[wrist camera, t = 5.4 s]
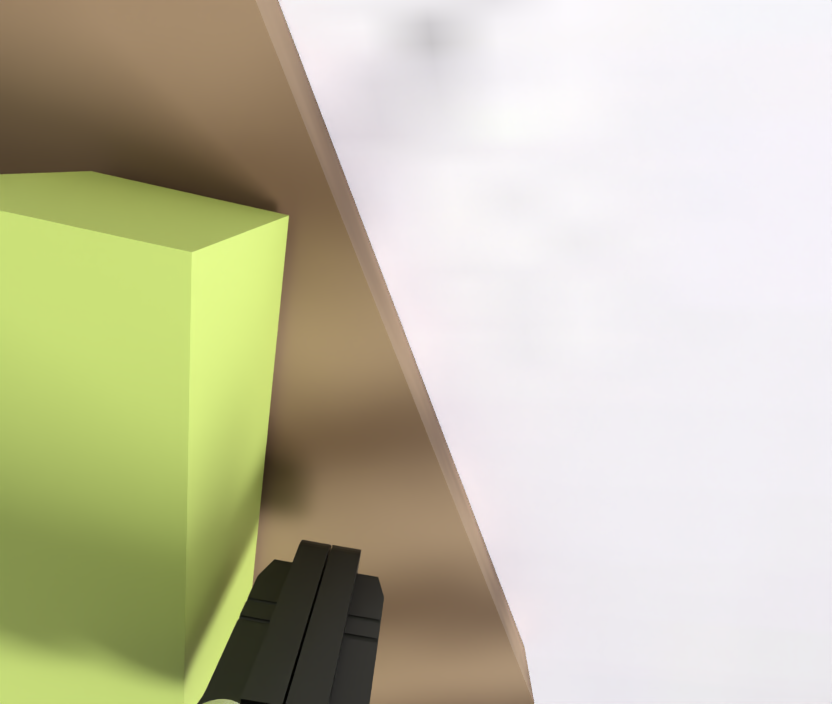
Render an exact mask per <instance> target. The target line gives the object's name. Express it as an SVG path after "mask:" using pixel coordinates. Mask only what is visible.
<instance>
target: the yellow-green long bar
mask: <svg viewBox="0 0 832 704" xmlns="http://www.w3.org/2000/svg"><path fill="white" fill-rule="evenodd" d="M288 221H289V215H285V214H281V213H276V212H272V211H267V210H263V209H258V208H254V207H250V206H245V205H241V204H236V203H232V202H227V201H223V200H218V199H214V198H209V197H205V196H200V195H196V194H191V193H187V192H182V191H178V190H174V189H169V188H165V187H160V186H156V185H151V184H147V183H142V182H138V181H133V180H129V179H124V178H120V177H115V176H111V175H107V174H102V173H98V172H93V171H79V172H51V173H22V174H0V704H197V703H198V702H199V700H200V699H201V697H202V696H203V694H204V692H205V690H206V688H207V686H208V684H209V682H210V680H211V677H212V675H213V673H214V671H215V669H216V666H217V664H218V662H219V660H220V658H221V655H222V653H223V651H224V649H225V646H226V644H227V642H228V640H229V638H230V635H231V633H232V631H233V629H234V627H235V624H236V622H237V620H238V619H239V616H240V613H241V611H242V609H243V607H244V604H245V602H247V599H248V596H249V593H250V591H251V589H252V584H253V574H254V564H255V554H256V544H257V534H258V524H259V514H260V503H261V493H262V483H263V473H264V463H265V453H266V443H267V433H268V423H269V413H270V402H271V392H272V382H273V372H274V362H275V352H276V342H277V332H278V322H279V312H280V302H281V291H282V281H283V271H284V261H285V251H286V241H287V231H288Z"/></svg>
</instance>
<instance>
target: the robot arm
mask: <svg viewBox="0 0 832 704" xmlns="http://www.w3.org/2000/svg"><path fill="white" fill-rule="evenodd" d="M360 556H361V550H360V549H355V548H349V547H343V546H337V545H332V548H331V544H325V543H319V542H313V541H308V540H301V542H300V544H299V546H298V549H297V552H296V554H295V557H294V559H293V562H288V561H282V560H276V559H274V560H273V561H272V562H271V563H270V564H269V565H268V566H267V567H266V568H265V569H264V570H263V571H262V572H261V573H260V574H259V575H258V576H257V578H256V580H255V582H254V585H253V587H252V589H251V591H250V593H249V596H248V599H247V602H245V604H244V607H243V609H242V611H241V613H240V616H239V619H238V620H237V622H236V624H235V627H234V629H233V631H232V633H231V635H230V638H229V640H228V642H227V644H226V646H225V649H224V651H223V653H222V655H221V658H220V660H219V662H218V664H217V666H216V669H215V671H214V673H213V675H212V677H211V680H210V682H209V684H208V686H207V688H206V690H205V692H204V694H203V696H202V697H201V699H200V700H199V702H198V703H197V704H370V697H371V690H372V683H373V675H374V668H375V661H376V654H377V646H378V639H379V632H380V624H381V617H382V610H383V603H384V595H383V592H382V588H381V585H380V581H379V578H378V577H375V576H370V575H364V574H358V569H359V562H360Z"/></svg>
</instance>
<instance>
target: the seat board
mask: <svg viewBox="0 0 832 704" xmlns="http://www.w3.org/2000/svg"><path fill="white" fill-rule="evenodd" d="M79 171H93V172H98V173H102V174H107V175H111V176H115V177H120V178H124V179H129V180H133V181H138V182H142V183H147V184H151V185H156V186H160V187H165V188H169V189H174V190H178V191H182V192H187V193H191V194H196V195H200V196H205V197H209V198H214V199H218V200H223V201H227V202H232V203H236V204H241V205H245V206H250V207H254V208H258V209H263V210H267V211H272V212H276V213H281V214H285V215H289V221H288V231H287V241H286V251H285V261H284V271H283V281H282V291H281V302H280V312H279V322H278V332H277V342H276V352H275V362H274V372H273V382H272V392H271V402H270V413H269V423H268V433H267V443H266V453H265V463H264V473H263V483H262V493H261V503H260V514H259V524H258V534H257V544H256V554H255V564H254V574H253V584H252V587H253V585H254V582H255V580H256V578H257V576H258V575H259V574H260V573H261V572H262V571H263V570H264V569H265V568H266V567H267V566H268V565H269V564H270V563H271V562H272V561H273V560H274V559H276V560H282V561H288V562H293V559H294V557H295V554H296V552H297V549H298V546H299V544H300V542H301V540H308V541H313V542H319V543H325V544H331V548H332V545H337V546H343V547H349V548H355V549H360V550H361V556H360V562H359V569H358V574H364V575H370V576H375V577H378V578H379V581H380V585H381V588H382V592H383V595H384V603H383V610H382V617H381V624H380V632H379V639H378V646H377V654H376V661H375V668H374V675H373V683H372V690H371V697H370V704H534V699H533V694H532V688H531V682H530V677H529V671H528V665H527V660H526V654H525V648H524V645H523V642H522V640H521V637H520V635H519V632H518V629H517V627H516V624H515V621H514V619H513V616H512V614H511V611H510V608H509V606H508V603H507V600H506V598H505V595H504V593H503V590H502V587H501V585H500V582H499V579H498V577H497V574H496V572H495V569H494V566H493V564H492V561H491V558H490V556H489V553H488V551H487V548H486V545H485V543H484V540H483V537H482V535H481V532H480V530H479V527H478V524H477V522H476V519H475V516H474V514H473V511H472V509H471V506H470V503H469V501H468V498H467V495H466V493H465V490H464V488H463V485H462V482H461V480H460V477H459V474H458V472H457V469H456V467H455V464H454V461H453V459H452V456H451V453H450V451H449V448H448V446H447V443H446V440H445V438H444V435H443V432H442V430H441V427H440V425H439V422H438V419H437V417H436V414H435V411H434V409H433V406H432V404H431V401H430V398H429V396H428V393H427V390H426V388H425V385H424V383H423V380H422V377H421V375H420V372H419V369H418V367H417V364H416V362H415V359H414V356H413V354H412V351H411V348H410V346H409V343H408V341H407V338H406V335H405V333H404V330H403V327H402V325H401V322H400V320H399V317H398V314H397V312H396V309H395V306H394V304H393V301H392V299H391V296H390V293H389V291H388V288H387V285H386V283H385V280H384V278H383V275H382V272H381V270H380V267H379V264H378V262H377V259H376V257H375V254H374V251H373V249H372V246H371V243H370V241H369V238H368V236H367V233H366V230H365V228H364V225H363V222H362V220H361V217H360V215H359V212H358V209H357V207H356V204H355V201H354V199H353V196H352V194H351V191H350V188H349V186H348V183H347V180H346V178H345V175H344V173H343V170H342V167H341V165H340V162H339V159H338V157H337V154H336V152H335V149H334V146H333V144H332V141H331V138H330V136H329V133H328V131H327V128H326V125H325V123H324V120H323V117H322V115H321V112H320V110H319V107H318V104H317V102H316V99H315V96H314V94H313V91H312V89H311V86H310V83H309V81H308V78H307V75H306V73H305V70H304V68H303V65H302V62H301V60H300V57H299V54H298V52H297V49H296V47H295V44H294V41H293V39H292V36H291V33H290V31H289V28H288V26H287V23H286V20H285V18H284V15H283V12H282V10H281V7H280V5H279V2H278V0H0V174H22V173H51V172H79Z"/></svg>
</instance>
